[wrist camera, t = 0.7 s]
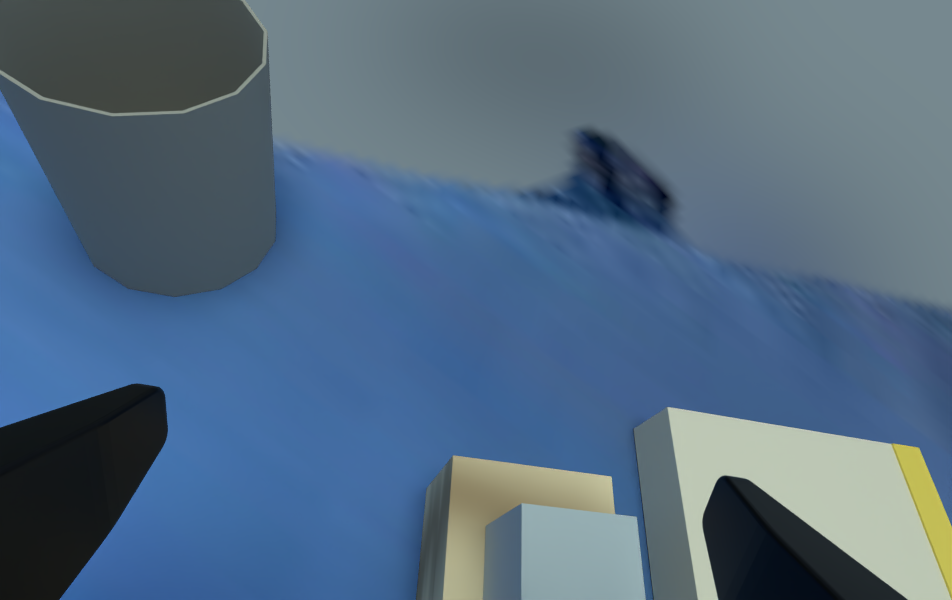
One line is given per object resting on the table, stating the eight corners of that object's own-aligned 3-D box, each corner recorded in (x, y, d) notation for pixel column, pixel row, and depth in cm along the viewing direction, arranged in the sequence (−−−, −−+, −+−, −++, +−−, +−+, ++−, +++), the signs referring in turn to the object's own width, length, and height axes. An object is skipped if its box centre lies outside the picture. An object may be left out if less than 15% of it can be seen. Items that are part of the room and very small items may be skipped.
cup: (305, 259, 27) (309, 89, 19) (120, 324, 23) (22, 143, 14) (233, 143, 29) (209, -49, 21) (55, 183, 25) (-59, -37, 17)
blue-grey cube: (591, 660, 16) (652, 663, 14) (481, 653, 16) (521, 655, 13) (584, 536, 18) (636, 516, 16) (485, 525, 18) (521, 503, 15)
